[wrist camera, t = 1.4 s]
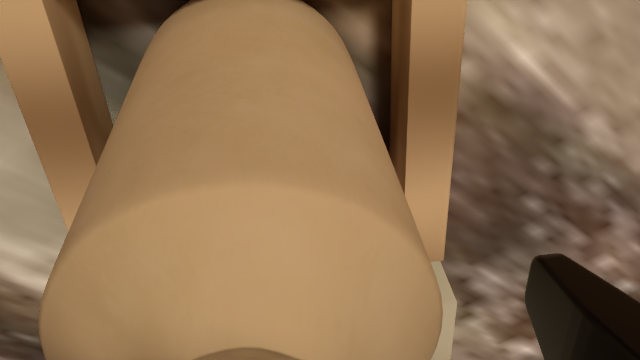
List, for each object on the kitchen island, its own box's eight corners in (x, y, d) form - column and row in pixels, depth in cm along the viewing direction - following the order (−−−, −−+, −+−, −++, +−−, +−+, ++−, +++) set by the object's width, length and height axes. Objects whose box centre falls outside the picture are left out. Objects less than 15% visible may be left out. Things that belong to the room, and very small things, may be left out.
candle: (335, 182, 17) (417, 548, 9) (144, 169, 16) (29, 564, 8) (371, -4, 14) (547, 281, 6) (139, -33, 13) (-57, 256, 5)
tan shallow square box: (425, 218, 18) (443, 260, 16) (109, 251, 17) (94, 298, 16) (448, -139, 12) (478, -130, 11) (-14, -106, 12) (-57, -91, 10)
